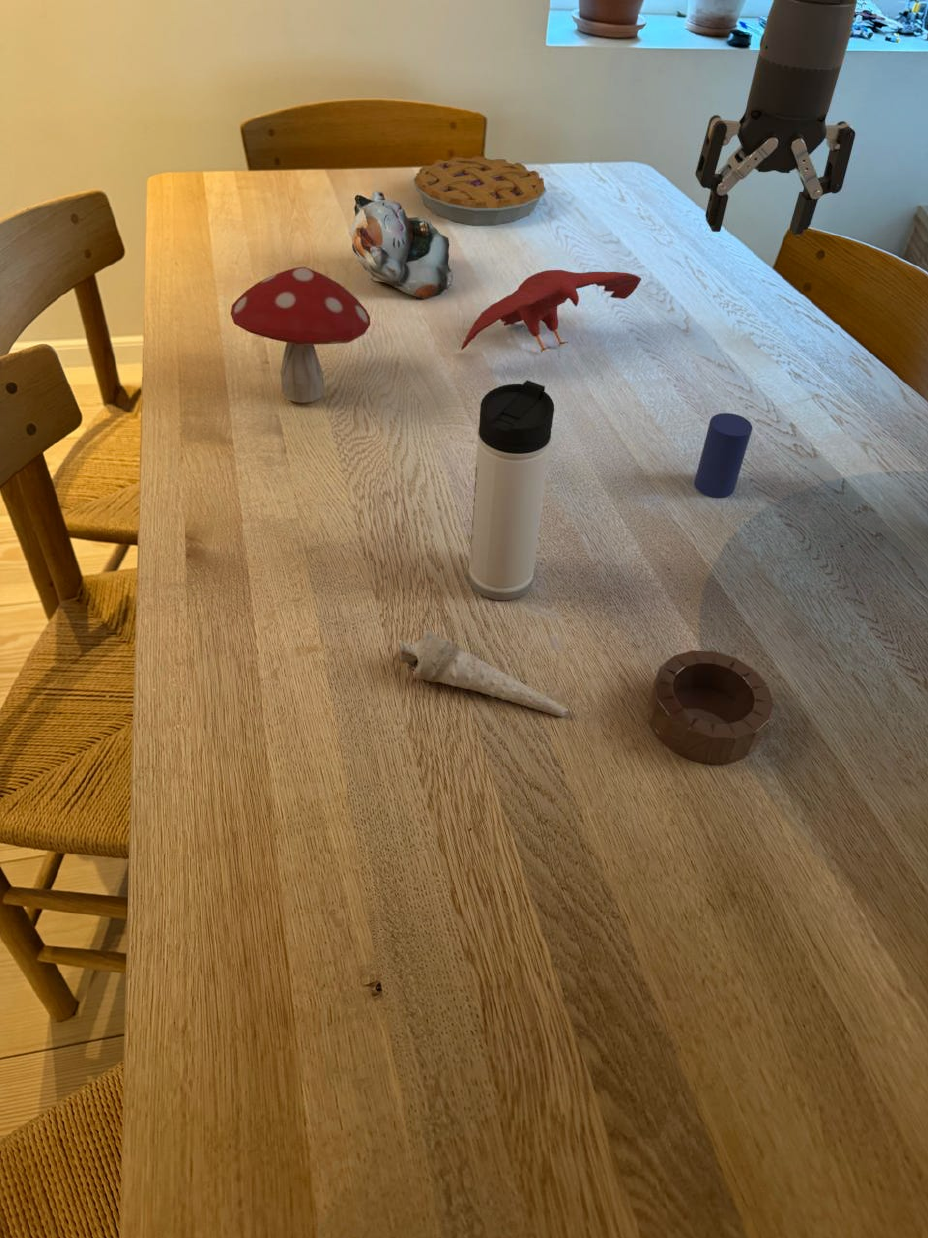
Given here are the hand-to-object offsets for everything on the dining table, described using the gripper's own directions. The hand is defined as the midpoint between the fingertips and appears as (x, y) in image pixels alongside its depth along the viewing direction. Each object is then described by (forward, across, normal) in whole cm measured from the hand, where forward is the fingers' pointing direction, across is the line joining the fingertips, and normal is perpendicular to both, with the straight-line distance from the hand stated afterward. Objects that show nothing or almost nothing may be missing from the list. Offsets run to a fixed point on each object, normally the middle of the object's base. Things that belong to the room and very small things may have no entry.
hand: (755, 230), depth 99 cm
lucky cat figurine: (+24, -37, +36) cm, 57 cm away
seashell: (+24, -29, -42) cm, 56 cm away
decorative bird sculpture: (+24, -18, +20) cm, 36 cm away
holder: (+24, -10, -46) cm, 53 cm away
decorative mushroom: (+24, -48, +6) cm, 54 cm away
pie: (+24, -24, +68) cm, 76 cm away
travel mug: (+24, -26, -28) cm, 45 cm away
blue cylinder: (+23, -2, -12) cm, 26 cm away
